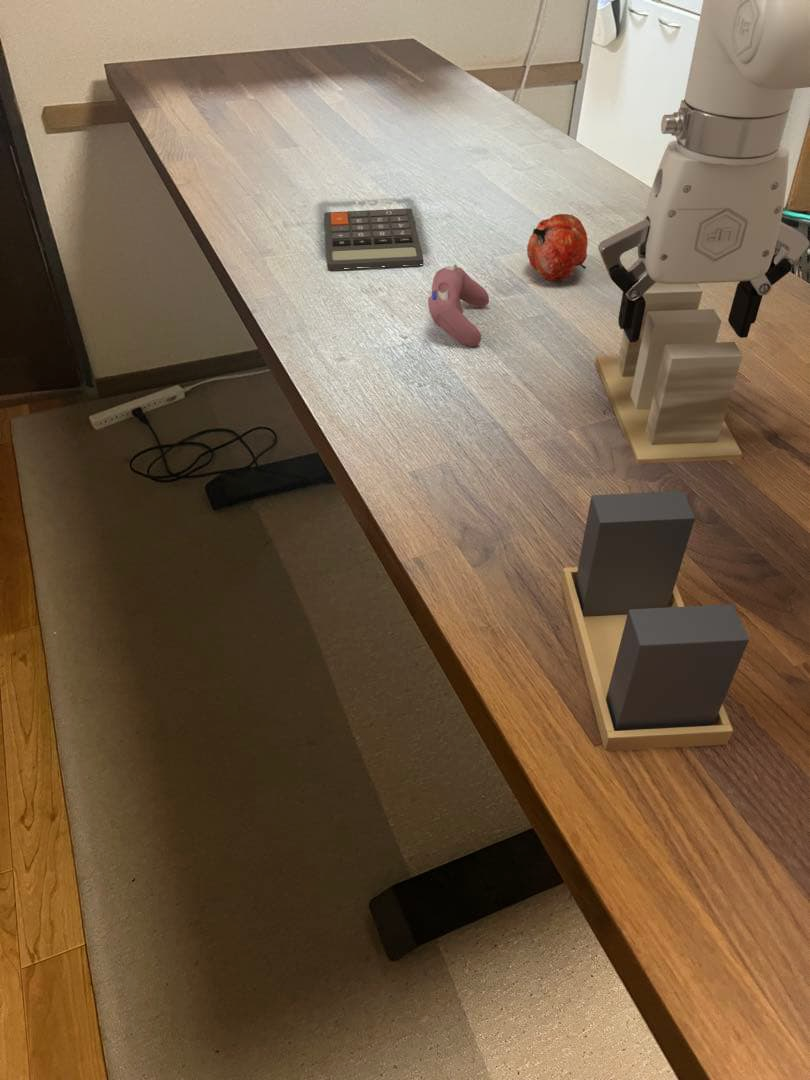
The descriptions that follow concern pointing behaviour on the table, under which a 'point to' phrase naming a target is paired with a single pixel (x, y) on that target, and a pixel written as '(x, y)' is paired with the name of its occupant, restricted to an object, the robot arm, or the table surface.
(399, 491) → the table surface
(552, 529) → the table surface
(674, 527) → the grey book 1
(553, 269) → the pomegranate
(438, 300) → the video game controller
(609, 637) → the shallow beige tray
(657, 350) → the beige rectangular block
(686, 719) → the dark grey block
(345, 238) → the calculator
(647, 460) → the wooden block stand
